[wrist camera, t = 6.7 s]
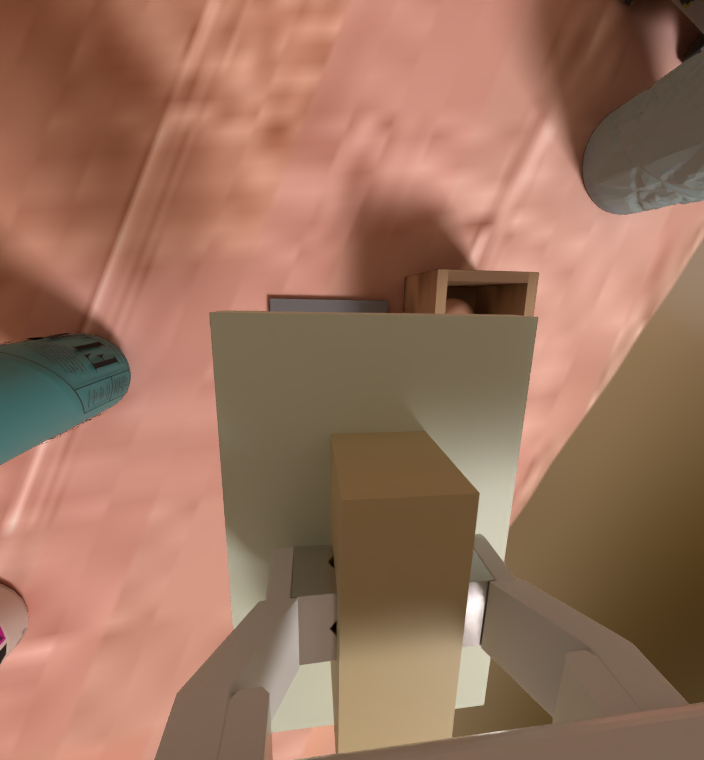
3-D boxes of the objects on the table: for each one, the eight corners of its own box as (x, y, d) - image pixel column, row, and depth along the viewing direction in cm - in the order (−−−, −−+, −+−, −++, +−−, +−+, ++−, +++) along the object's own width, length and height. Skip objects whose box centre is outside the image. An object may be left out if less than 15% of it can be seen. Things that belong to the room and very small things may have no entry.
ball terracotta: (425, 297, 30) (440, 297, 26) (465, 298, 30) (485, 298, 27) (422, 339, 31) (437, 344, 27) (461, 339, 31) (480, 344, 28)
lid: (222, 310, 9) (151, 321, 5) (511, 314, 10) (651, 326, 6) (247, 694, 12) (216, 898, 8) (468, 668, 13) (540, 837, 9)
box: (405, 277, 30) (437, 269, 22) (481, 279, 31) (539, 272, 23) (398, 409, 33) (425, 443, 25) (469, 408, 33) (516, 440, 26)
